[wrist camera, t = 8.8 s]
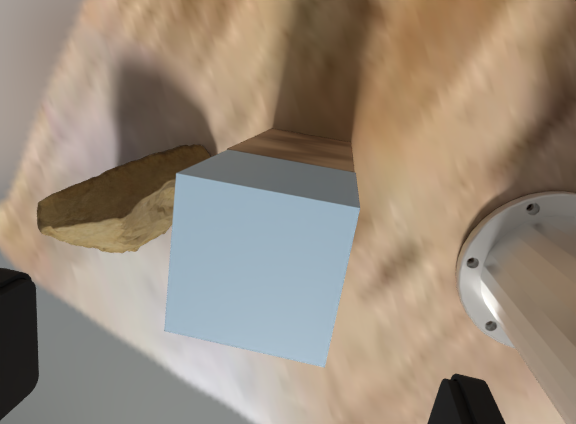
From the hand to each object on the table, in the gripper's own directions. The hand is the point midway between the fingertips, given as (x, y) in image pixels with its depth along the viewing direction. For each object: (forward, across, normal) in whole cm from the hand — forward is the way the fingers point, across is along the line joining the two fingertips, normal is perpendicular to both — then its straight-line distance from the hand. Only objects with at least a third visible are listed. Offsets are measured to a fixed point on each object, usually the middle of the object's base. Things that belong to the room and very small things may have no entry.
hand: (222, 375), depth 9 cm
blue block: (+11, +1, 0) cm, 11 cm away
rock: (+23, +12, +4) cm, 26 cm away
